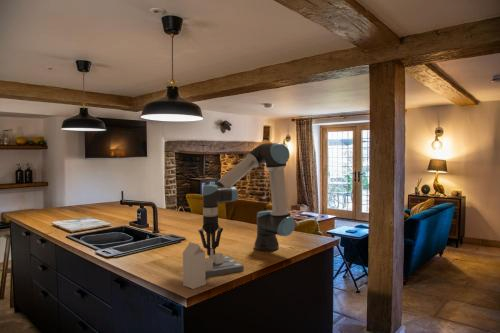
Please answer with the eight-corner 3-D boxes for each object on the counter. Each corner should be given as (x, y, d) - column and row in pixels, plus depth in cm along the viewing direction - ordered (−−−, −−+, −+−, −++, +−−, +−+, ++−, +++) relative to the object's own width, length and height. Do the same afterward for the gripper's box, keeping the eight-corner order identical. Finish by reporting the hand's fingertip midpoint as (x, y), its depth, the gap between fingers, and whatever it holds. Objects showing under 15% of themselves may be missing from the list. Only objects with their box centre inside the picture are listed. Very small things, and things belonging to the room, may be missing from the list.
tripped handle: (220, 261, 184) (220, 251, 184) (223, 263, 181) (223, 252, 181) (213, 262, 182) (213, 252, 182) (215, 264, 179) (215, 253, 179)
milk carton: (193, 289, 153) (192, 246, 152) (183, 285, 158) (182, 243, 157) (205, 284, 159) (205, 243, 158) (195, 281, 163) (194, 240, 163)
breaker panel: (227, 259, 195) (227, 246, 195) (243, 270, 177) (243, 255, 177) (185, 266, 184) (185, 252, 184) (197, 278, 166) (197, 263, 166)
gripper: (200, 217, 173) (201, 265, 174) (225, 215, 179) (225, 261, 180) (195, 215, 179) (196, 261, 180) (219, 213, 185) (220, 257, 186)
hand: (211, 261), depth 180 cm, fingers closed
